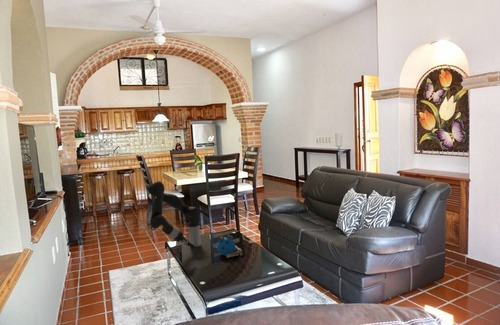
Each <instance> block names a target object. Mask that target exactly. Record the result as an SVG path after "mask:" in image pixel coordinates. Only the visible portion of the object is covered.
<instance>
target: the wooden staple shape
mask: <svg viewBox="0 0 500 325" xmlns="http://www.w3.org/2000/svg"><path fill="white" fill-rule="evenodd" d="M236 256H243V250H242V249H241V248H239V247H238V246H237V245H236V244H235V250H234V252H233V253H229V254H226V256H225V257H226V258H227V259H228V258H232V257H236Z"/></svg>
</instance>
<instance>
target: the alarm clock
mask: <svg viewBox="0 0 500 325" xmlns="http://www.w3.org/2000/svg"><path fill="white" fill-rule="evenodd" d="M233 239H234V238H233V236H232V235H231V234H227V236H222V235H221V236H220V237H218V242H217V245H216V248H217V251H218V252H219V253H220V254H221V256H222V255H223V256H225V257H226V254H229V253H234V252H235V251H234V250H235V245H236V243H235V241H234V240H233Z"/></svg>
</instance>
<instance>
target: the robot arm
mask: <svg viewBox="0 0 500 325" xmlns="http://www.w3.org/2000/svg"><path fill="white" fill-rule="evenodd" d="M147 191H148V193H149V194H150V196H152V197H154V200H153V204H152V206H151V207H152V213H151V216H150V219H149V220H150V222H149V223H150V227H151V228H153V229H159V228H160V227H161V226H162V228H161V231H162V232H163V233H164V234H166V235H167V236H168V237H169V238H171V239H172V240H174V241H175V242H176V243H179V242H181V243H183V244H184V245H185V246H187V247H190V248H192V249H194V248H198V247H200V246H202V242H201V241H202V240H201V232H200V219H201V218H200V210H199V208H198V207H196V206H189V205H187V204H186V203H184V201H183V200H182V199H181V198H180V197H179V196H177V195H176V194H173V193H167V192H166V193H165V185H164V182H162V181H160V180H158V181H155V182H154V183H151V184H150V185H149V186H148V187H147ZM163 202H164V203H165V204H168V205H169V206H170V207H172V208H173V209H175V210H177V211H179V212H180V213H182V214H183V215H184V216H185V217H187V218H190V221H189V222H188V223H187V228H188V238H189V239H188V238H186V237H185V234H184V232H183V231H181V230H179V229H178V228H176V227H175V226H173V225H172V224H171V223H169V222H168V220H167V219H166V218H165V217H164V216H163Z"/></svg>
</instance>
